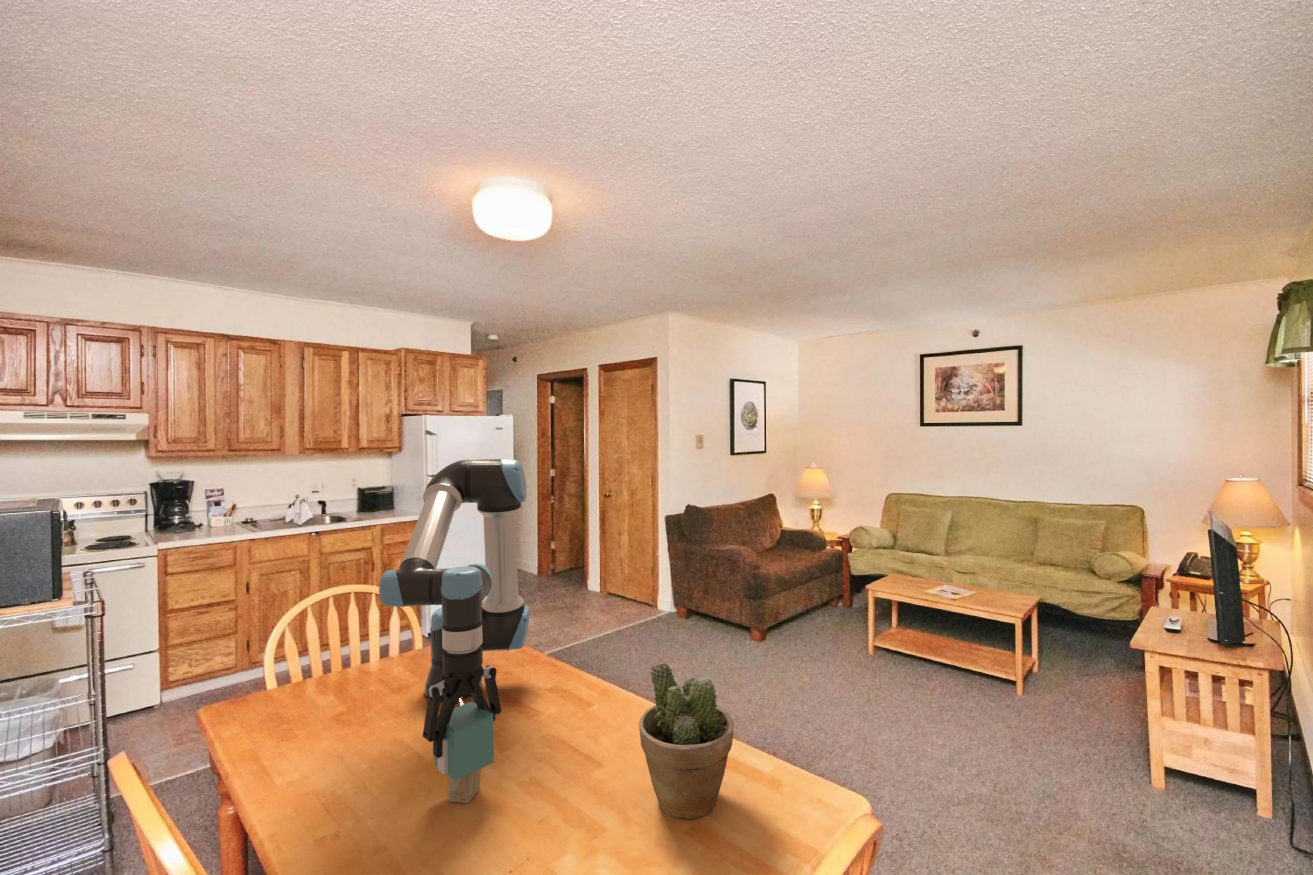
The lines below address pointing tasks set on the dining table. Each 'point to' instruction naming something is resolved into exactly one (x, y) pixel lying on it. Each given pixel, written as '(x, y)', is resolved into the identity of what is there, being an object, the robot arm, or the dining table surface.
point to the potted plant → (685, 744)
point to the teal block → (469, 740)
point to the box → (464, 787)
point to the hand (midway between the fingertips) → (464, 761)
